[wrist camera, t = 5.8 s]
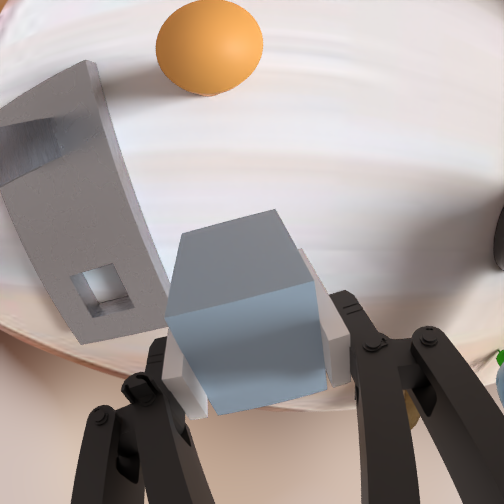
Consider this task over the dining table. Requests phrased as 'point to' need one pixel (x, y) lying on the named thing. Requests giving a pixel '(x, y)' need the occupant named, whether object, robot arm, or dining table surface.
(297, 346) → the light blue block
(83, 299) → the gray base set
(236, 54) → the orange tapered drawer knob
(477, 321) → the dining table surface
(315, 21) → the dining table surface
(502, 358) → the flower
